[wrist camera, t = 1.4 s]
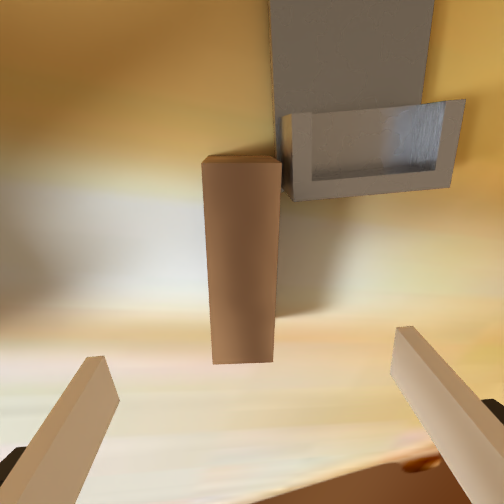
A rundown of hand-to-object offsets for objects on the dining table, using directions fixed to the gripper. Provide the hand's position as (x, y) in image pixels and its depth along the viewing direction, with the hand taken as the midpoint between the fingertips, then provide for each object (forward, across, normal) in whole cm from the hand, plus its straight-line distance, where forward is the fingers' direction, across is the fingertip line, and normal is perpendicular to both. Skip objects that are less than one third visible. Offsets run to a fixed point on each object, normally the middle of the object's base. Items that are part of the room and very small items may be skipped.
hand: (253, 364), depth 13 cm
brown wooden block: (+14, 0, 0) cm, 15 cm away
